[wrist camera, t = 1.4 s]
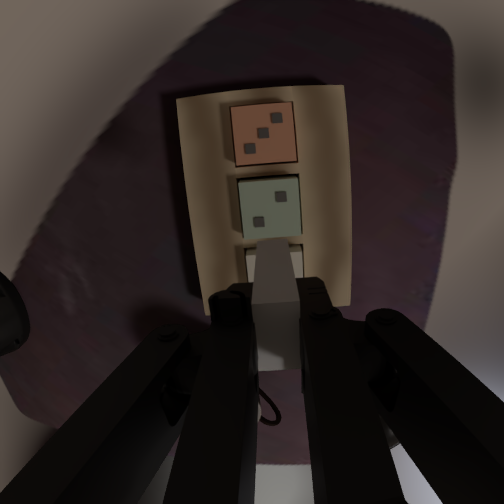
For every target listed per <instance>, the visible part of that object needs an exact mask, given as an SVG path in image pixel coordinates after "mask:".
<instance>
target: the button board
mask: <svg viewBox="0 0 504 504" xmlns="http://www.w3.org/2000/svg"><path fill="white" fill-rule="evenodd" d="M288 102H292V112H293V123H294V134H295V146H296V159H297V161H291V162H277V163H264V164H252V165H241V166H237V165H236V155H235V145H234V135H233V125H232V115H231V107H238V106H248V105H259V104H272V103H288ZM176 103H177V113H178V124H179V133H180V143H181V152H182V160H183V169H184V177H185V185H186V193H187V200H188V208H189V215H190V222H191V229H192V235H193V242H194V249H195V255H196V261H197V268H198V274H199V280H200V286H201V292H202V297H203V303H204V309H205V314H206V315H210V310H209V304H208V298H209V297H210V296H211V295H212V294H214V293H216V292H219V291H222V290H226V289H227V288H228V287H229V286H230V285H231V284H233V283H246V282H249V281H248V271H247V262H246V252H247V251H246V248H250V247H257V241H264V240H277V239H287V240H288V245H290V244H301V250H302V261H303V277H316V276H317V277H318V278H320V279H321V280H323V281H324V284H325V286H326V289H327V291H328V294H329V297H330V299H331V302H332V305H333V307H337V306H347V305H350V295H351V261H352V212H351V178H350V157H349V141H348V128H347V116H346V105H345V95H344V86H343V85H308V86H285V87H269V88H257V89H246V90H236V91H228V92H220V93H212V94H205V95H198V96H192V97H186V98H180V99H176ZM296 173H297V178H298V186H299V202H300V219H301V236H288V237H274V238H261V239H248V240H244V233H243V224H242V214H241V204H240V195H239V185H238V183H239V178H244V177H256V176H268V175H282V174H296Z"/></svg>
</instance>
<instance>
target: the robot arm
mask: <svg viewBox="0 0 504 504" xmlns="http://www.w3.org/2000/svg"><path fill="white" fill-rule="evenodd" d="M208 304H209V310H210V315H211V321H212V322H211V326H210V329H208V330H205V331H202V332H199V333H194V334H188V330H187V328H185V327H184V326H182V325H178V324H167V325H163V326H161V327H159V328H156V329H155V330H153V331H152V332H151V333H150V334H149V335H148V336H147V337H146V338H145V339H144V340H143V341H142V342H141V343H140V344H139V345H138V346H137V347H136V348H135V349H134V350H133V351H132V352H131V353H130V355H129V356H128V357H127V358H126V359H125V360H124V361H123V362H122V363H121V364H120V365H119V366H118V367H117V368H116V369H115V370H114V371H113V372H112V373H111V374H110V375H109V376H108V377H107V379H106V380H105V381H104V382H103V383H102V384H101V385H100V386H99V387H98V388H97V389H96V390H95V391H94V392H93V393H92V394H91V395H90V396H89V398H88V399H87V400H86V401H85V402H84V403H83V404H82V405H81V406H80V407H79V408H78V409H77V410H76V411H75V412H74V413H73V414H72V416H71V417H70V418H69V419H68V420H67V421H66V422H65V423H64V424H63V425H62V426H61V427H60V428H59V429H58V431H57V432H56V433H55V434H54V435H53V436H52V437H51V438H50V439H49V440H48V441H47V442H46V443H45V445H44V446H43V447H42V448H41V449H40V450H39V451H38V452H37V453H36V454H35V455H34V456H33V458H32V459H31V460H30V461H29V462H28V463H27V464H26V465H25V466H24V467H23V468H22V470H21V471H20V472H19V473H18V474H17V475H16V476H15V477H14V478H13V480H12V481H11V482H10V483H9V484H8V485H7V486H6V487H5V488H4V489H3V491H2V492H1V493H0V504H137V502H138V501H139V499H140V498H141V496H142V495H143V493H144V492H145V490H146V488H147V487H148V485H149V484H150V482H151V480H152V479H153V477H154V476H155V474H156V472H157V471H158V469H159V468H160V466H161V464H162V463H163V461H164V459H165V458H166V456H167V455H168V453H169V451H170V450H171V448H172V446H173V445H174V443H175V441H176V440H177V438H178V437H179V435H180V438H179V442H178V446H177V450H176V453H175V457H174V461H173V465H172V469H171V473H170V477H169V481H168V484H167V488H166V492H165V496H164V500H163V504H254V494H255V473H256V449H257V423H258V396H259V376H258V370H259V371H270V370H286V369H299V368H301V371H302V393H303V394H304V403H305V412H306V421H307V430H308V440H309V450H310V460H311V469H312V480H313V492H314V504H408V503H407V502H406V500H405V498H404V495H403V492H402V488H401V485H400V481H399V478H398V474H397V471H396V468H395V464H394V461H393V458H392V455H391V452H390V448H389V445H388V442H387V439H386V436H385V433H384V429H383V426H382V423H381V420H380V417H379V414H380V415H381V417H382V418H383V420H384V421H385V422H386V424H387V425H388V427H389V428H390V429H391V431H392V432H393V434H394V435H395V436H396V438H397V439H398V441H399V442H400V443H401V445H402V446H403V448H404V449H405V451H406V452H407V453H408V455H409V456H410V458H411V459H412V460H413V462H414V463H415V465H416V466H417V467H418V469H419V470H420V472H421V473H422V475H423V476H424V477H425V479H426V480H427V482H428V483H429V484H430V486H431V487H432V489H433V490H434V491H435V493H436V494H437V496H438V497H439V499H440V500H441V502H442V503H443V504H504V402H503V401H502V400H501V399H500V398H499V397H497V396H496V395H495V394H494V393H493V392H492V391H491V390H490V389H488V387H486V386H485V385H484V384H483V383H482V382H481V381H480V380H479V379H478V378H476V377H475V376H474V375H473V374H472V373H471V372H470V371H469V370H468V369H466V368H465V367H464V366H463V365H462V364H461V363H460V362H458V361H457V360H456V359H455V358H454V357H453V356H452V355H450V354H449V353H448V352H447V351H446V350H445V349H444V348H442V347H441V346H440V345H439V344H438V343H437V342H435V341H434V340H433V339H432V338H431V337H430V336H428V335H427V334H426V333H425V332H424V331H422V330H421V329H420V328H419V327H418V326H416V325H415V324H414V323H413V322H412V321H410V320H409V319H408V318H407V317H406V316H404V315H403V314H402V313H400V312H398V311H396V310H392V309H389V308H387V309H386V308H381V309H376V310H373V311H371V312H369V313H368V314H367V315H366V320H365V321H354V320H348V319H345V318H343V316H342V313H341V312H340V311H339V309H337V308H335V307H333V305H332V302H331V299H330V297H329V294H328V291H327V289H326V286H325V284H324V281H323V280H321V279H320V278H318V277H317V276H316V277H303V278H295V274H294V269H293V264H292V259H291V254H290V250H289V245H288V240H287V239H277V240H264V241H257V248H256V259H255V270H254V281H253V282H246V283H233V284H231V285H230V286H229V287H228V288H227V289H226V290H222V291H219V292H216V293H214V294H212V295H211V296H210V297H209V298H208ZM29 333H30V323H29V318H28V314H27V311H26V308H25V305H24V303H23V301H22V299H21V297H20V295H19V293H18V292H17V290H16V288H15V287H14V286H13V284H12V283H11V282H10V281H9V279H8V278H7V277H6V276H5V275H4V274H2V273H1V272H0V356H3V355H5V354H8V353H10V352H13V351H15V350H17V349H19V348H20V347H21V346H22V345H23V344H24V343H25V342H26V341H27V339H28V337H29ZM378 413H379V414H378ZM180 433H181V434H180Z"/></svg>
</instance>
